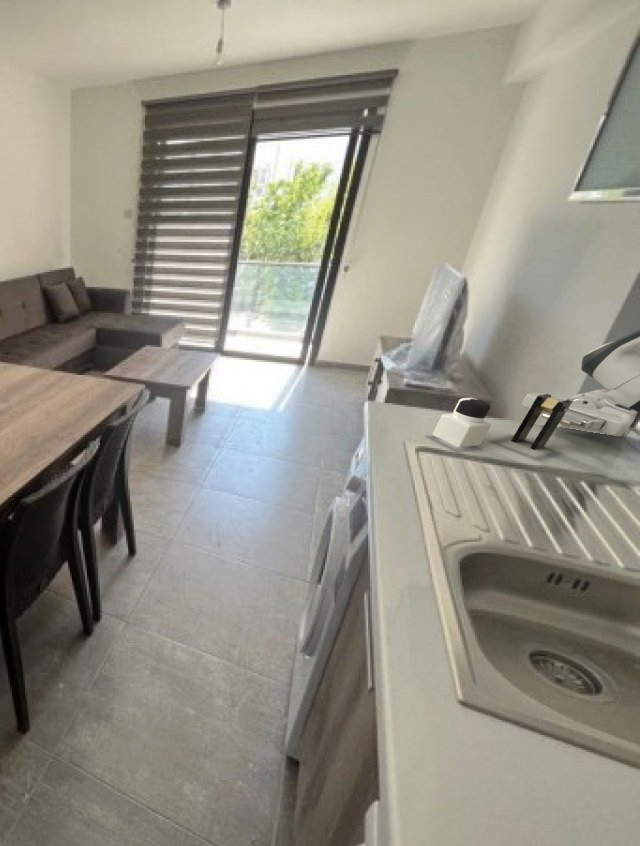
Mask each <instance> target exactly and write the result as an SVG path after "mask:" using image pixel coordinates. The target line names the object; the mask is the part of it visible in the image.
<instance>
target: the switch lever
mask: <svg viewBox="0 0 640 846" xmlns="http://www.w3.org/2000/svg"><path fill="white" fill-rule="evenodd" d="M558 402H560V401H558V400H555V399H552V398H547V399H546V400H545V402H544V403H543V404H542V405H541V407H542V409H543V410H545V411H548V412H549V413H550V414H548V413H542V415H541V419H543V420H546V421H547V420H548V418H549V417H550V415H551V413H552V412H553V410H554V409H555V407H556V405H557V404H558ZM572 423H573V421H570V420H567V419H564V418H562V419H561V421H560V422H559V424H560V425H561V426H565V427H571V426H572V425H571V424H572ZM559 424H558V425H559Z"/></svg>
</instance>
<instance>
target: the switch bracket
mask: <svg viewBox="0 0 640 846" xmlns="http://www.w3.org/2000/svg"><path fill="white" fill-rule="evenodd" d="M549 394H550V393H546V394H544V395H539V396H537V398H536V399H535V401H534V403H533V405H532V406H531V408H530V409H528V411H527V413H526V415H525V416H524V417H523V420H522V422H521V423H520V425H519V426H518V428H517V430H516V432H515V433H514V435H513V436H512V438H511V440H510V442H512V443H515V444H516V443H520V442H524V441H526V439H527V437H528V435H529V434H530V432H531V430H532V428H533V427H534V425H535V424H536V422H537V421H538V419H539V417H540V416H541V414H542V413H541V412H542V411H543V409H542V407H541V405H542V404H543V403H544V402H545V400H546V399H547V398H550V397H551V396H552V395H553V394H551V395H549ZM572 402H573V401H570V400H565V401H561V402H558V404H557V405H556V407H555V409H554V410H553V412H552V413H551V415H550V417H549V418H548V420H547V419H546V421H545V423H544V425H543V426H542V428H541V429H540V431H539V433H538V434H537V436H536V438H535V439H534V441H533V442H532V444H531V446H530V449H531V450H533V451H536V450H539V449H543V448H545V446H546V445H547V443H548V442H549V440H550V438H551V437H552V435H553V434H554V432H555V430H556V429H557V427H558V426H559V422H560V421H561V419H562V418H563V416H564V415H565V413H566V412H567V411H568V409H569V407H570V405H571V404H572Z"/></svg>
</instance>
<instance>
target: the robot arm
mask: <svg viewBox="0 0 640 846" xmlns="http://www.w3.org/2000/svg"><path fill="white" fill-rule="evenodd" d="M580 367H581V369H580V370H581V371H582V372H584V373H585V374H586V375H588V376H589V377H590V378H592V379H594V380H595V381H596V382H598V383H599V384H600V385H601V386H602V387H604V388H601V389H595V390H591V391H588V392H582V393H579V394H574V395H572V396H570V397H568V398H565V397H561V396H557V395H553V394H551V393H548V394H549V395H552V396H551V397H550V398H552V399H555V400H558V401H560V402H561V401H565V400H570V401H573V402H572V404H571V405H570V407H569V409H568V411H567V412H566V413H565V415H564V416H563V418H564V419H567V420H570V421H573V423H572V424H571V426H573V427H578V428H583V429H586V430H587V429H592V430H595V431H598V432H601V433H604V434H606V435H610V436H613V437H622V436H624V435H625V434H626V432H627V431H628V430H629V429H630V427H631V425H632V424H633V423H634V421H635V418H636V417H637V414H638V413H640V328H639V329H637V330H635V331H633V332H631V333H629V334H626V335H625V336H622V337H621V338H618V339H616V340H613V341H610V342H607V343H604V344H603V345H599V346H597V347H595V348H594V349H593V348H592V349H591V350H590V351H589V352H587V353H586V354H585V355H584V356H583V357H582V360H581V366H580ZM544 394H547V393H546V392H531V393H527V394H526V395H525V396H524V398H523V399H522V401H521V406H522V407H523V408H526V409H528V410H530V408H531V406H532V405H533V403H534V401H535V399H536V398H537V396H539V395H544ZM544 413H548V414H550V413H549V412H548V411H545V410H543V411H542V412H541V414H544Z"/></svg>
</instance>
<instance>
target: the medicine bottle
mask: <svg viewBox="0 0 640 846" xmlns="http://www.w3.org/2000/svg"><path fill="white" fill-rule="evenodd" d="M490 409H491V405H490V404H489V403H487V402H486V401H484V400H481V399H478V398H474V397H463V398H460V399H459V400H458V402H457V404H456V405H455V407H454V410H453V412H452V413H443V414H441V415H440V418H439V420H438V422H437V424H436V427H435V428H434V430H433V432H432V436H433V437H436V438H438V439H440V440H442V441H444V442H446V443H449V444H451V445H453V446H455V447H457V448H469V447H478V446H481V444H482V442H483V440H484V439H485V437H486V435H487V433H488V431H489V430H490V428H491V425H492V424H491V423H489V422H486V421H484V420H485V419H486V417H487V415H488V413H489V411H490Z"/></svg>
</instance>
